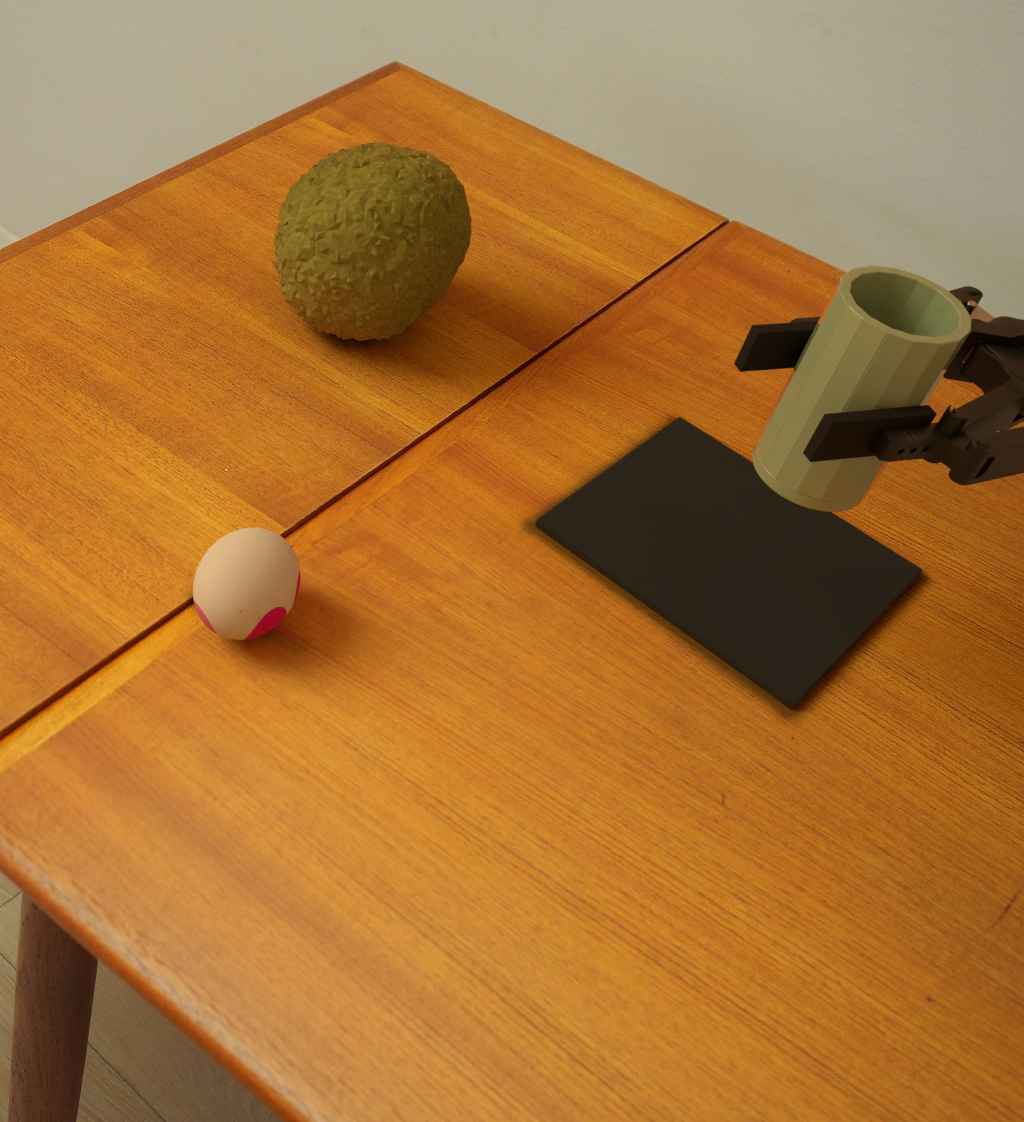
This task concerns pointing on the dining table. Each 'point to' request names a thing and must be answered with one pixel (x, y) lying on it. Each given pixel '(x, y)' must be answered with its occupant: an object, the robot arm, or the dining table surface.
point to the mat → (731, 558)
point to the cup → (858, 378)
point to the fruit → (371, 240)
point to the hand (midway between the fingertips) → (781, 392)
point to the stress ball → (246, 583)
